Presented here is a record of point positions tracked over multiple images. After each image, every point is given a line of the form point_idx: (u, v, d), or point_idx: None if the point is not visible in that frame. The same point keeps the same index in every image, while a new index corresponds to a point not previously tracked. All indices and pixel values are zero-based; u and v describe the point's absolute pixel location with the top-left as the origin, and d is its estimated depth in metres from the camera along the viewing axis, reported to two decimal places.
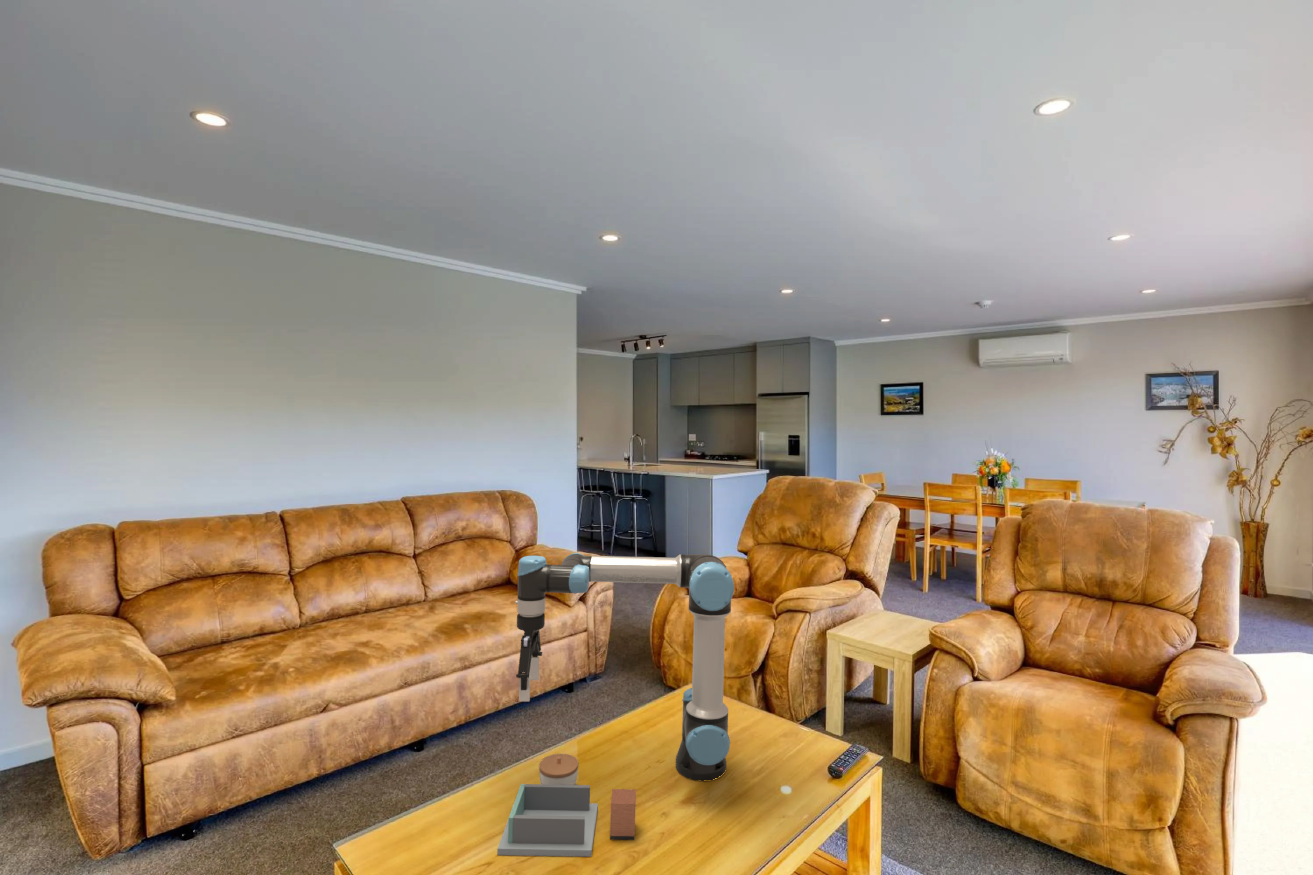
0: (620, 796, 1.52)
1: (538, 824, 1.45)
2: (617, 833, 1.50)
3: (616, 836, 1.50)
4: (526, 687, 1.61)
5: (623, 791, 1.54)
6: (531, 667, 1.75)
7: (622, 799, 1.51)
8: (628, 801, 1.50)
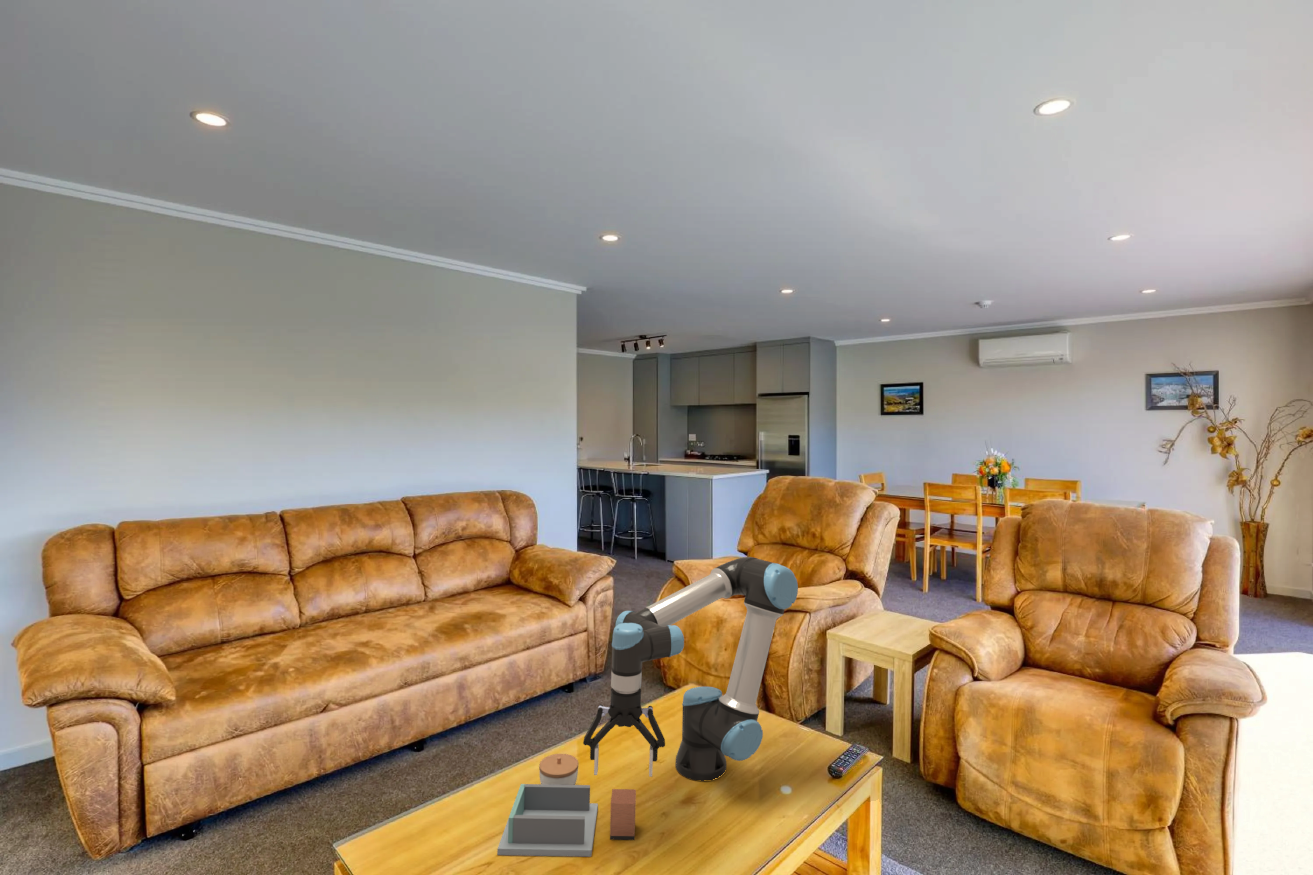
0: (620, 796, 1.52)
1: (538, 824, 1.45)
2: (617, 833, 1.50)
3: (616, 836, 1.50)
4: (592, 757, 1.52)
5: (623, 791, 1.54)
6: None
7: (621, 799, 1.51)
8: (628, 801, 1.50)
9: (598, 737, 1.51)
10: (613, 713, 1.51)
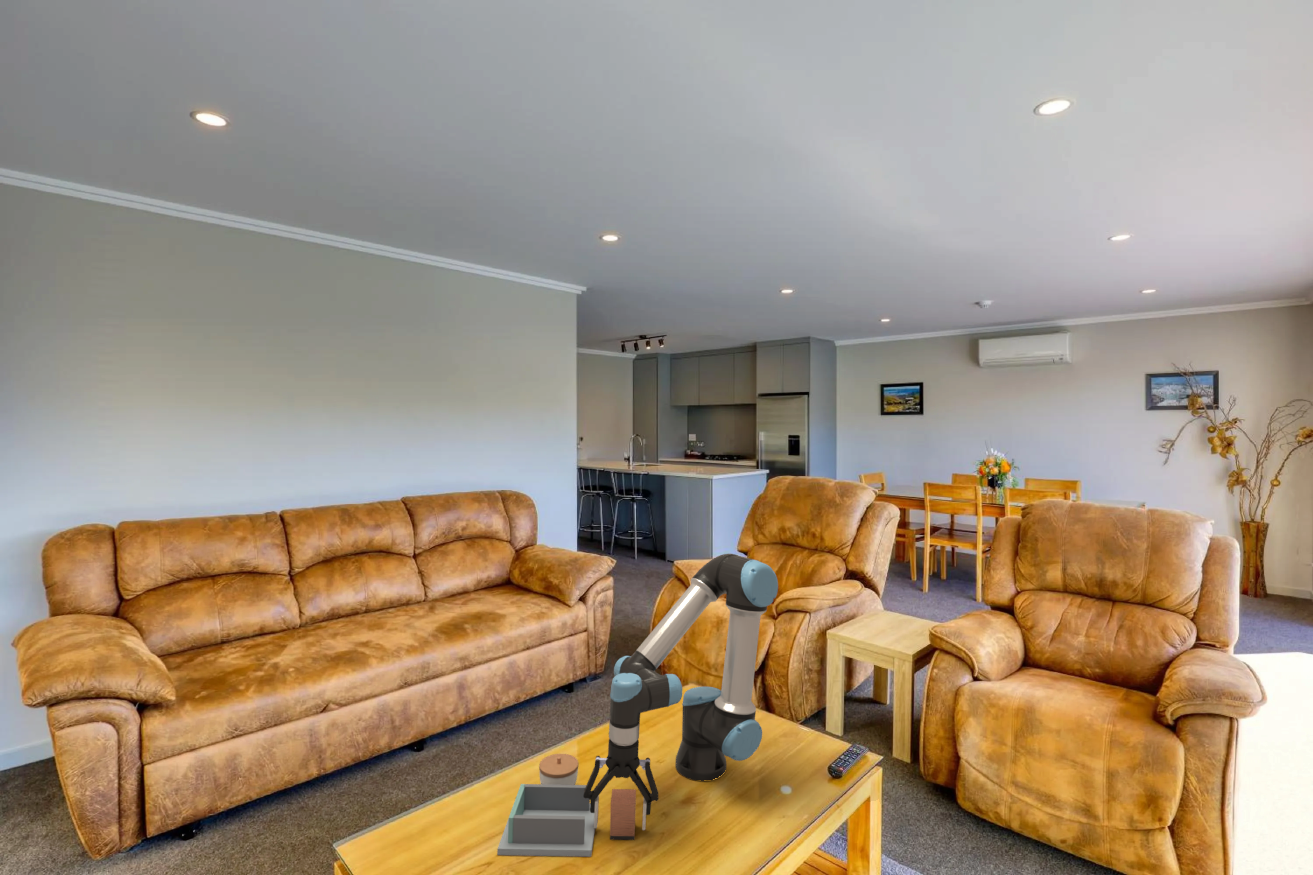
0: (620, 796, 1.52)
1: (538, 824, 1.45)
2: (617, 833, 1.50)
3: (616, 836, 1.50)
4: (592, 810, 1.52)
5: (623, 792, 1.54)
6: None
7: (621, 799, 1.51)
8: (628, 801, 1.50)
9: (597, 790, 1.51)
10: (611, 764, 1.51)
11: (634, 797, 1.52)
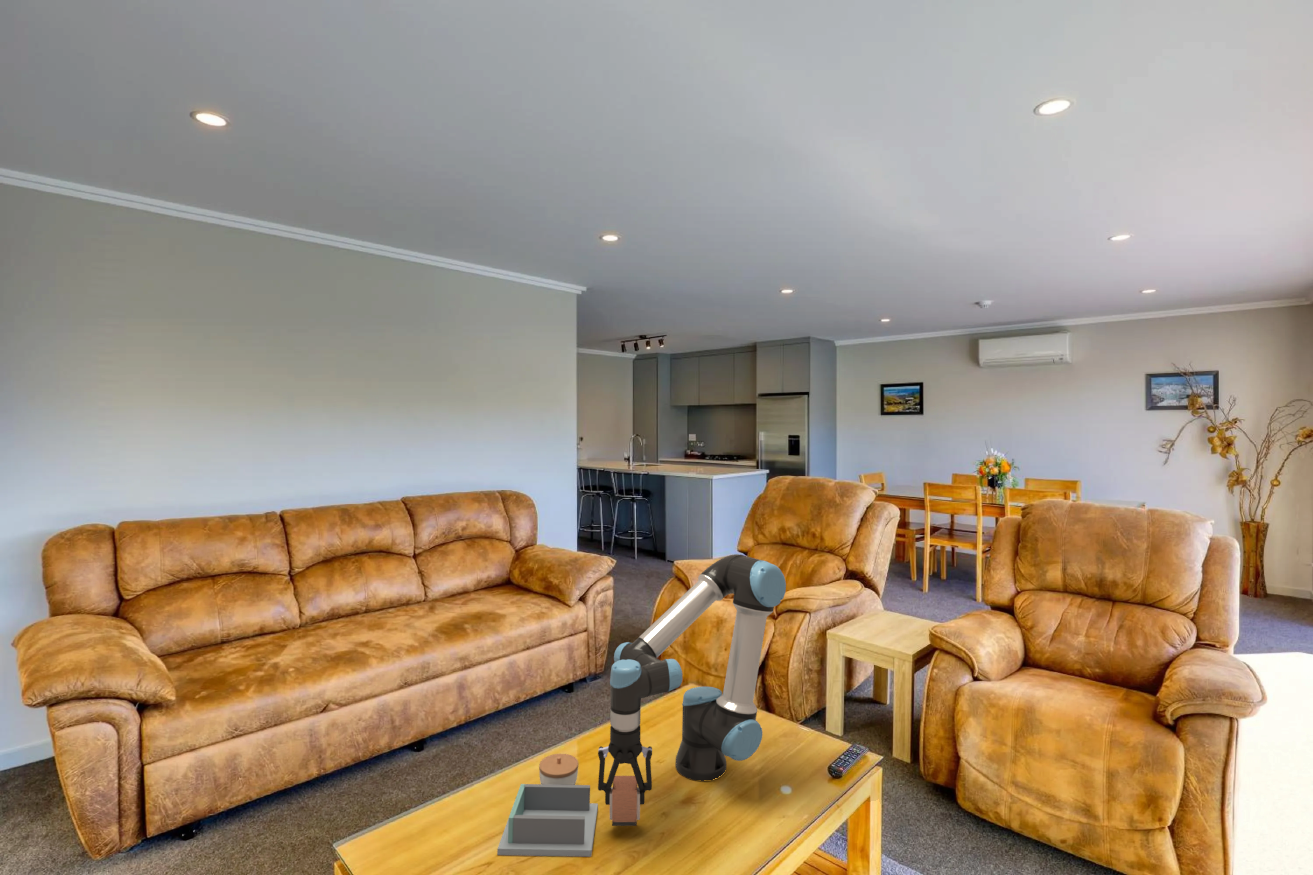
0: (622, 782, 1.53)
1: (538, 824, 1.45)
2: (619, 819, 1.50)
3: (618, 822, 1.50)
4: (607, 802, 1.52)
5: (625, 778, 1.55)
6: None
7: (623, 785, 1.51)
8: (630, 788, 1.51)
9: (609, 781, 1.52)
10: (613, 750, 1.51)
11: (636, 783, 1.52)
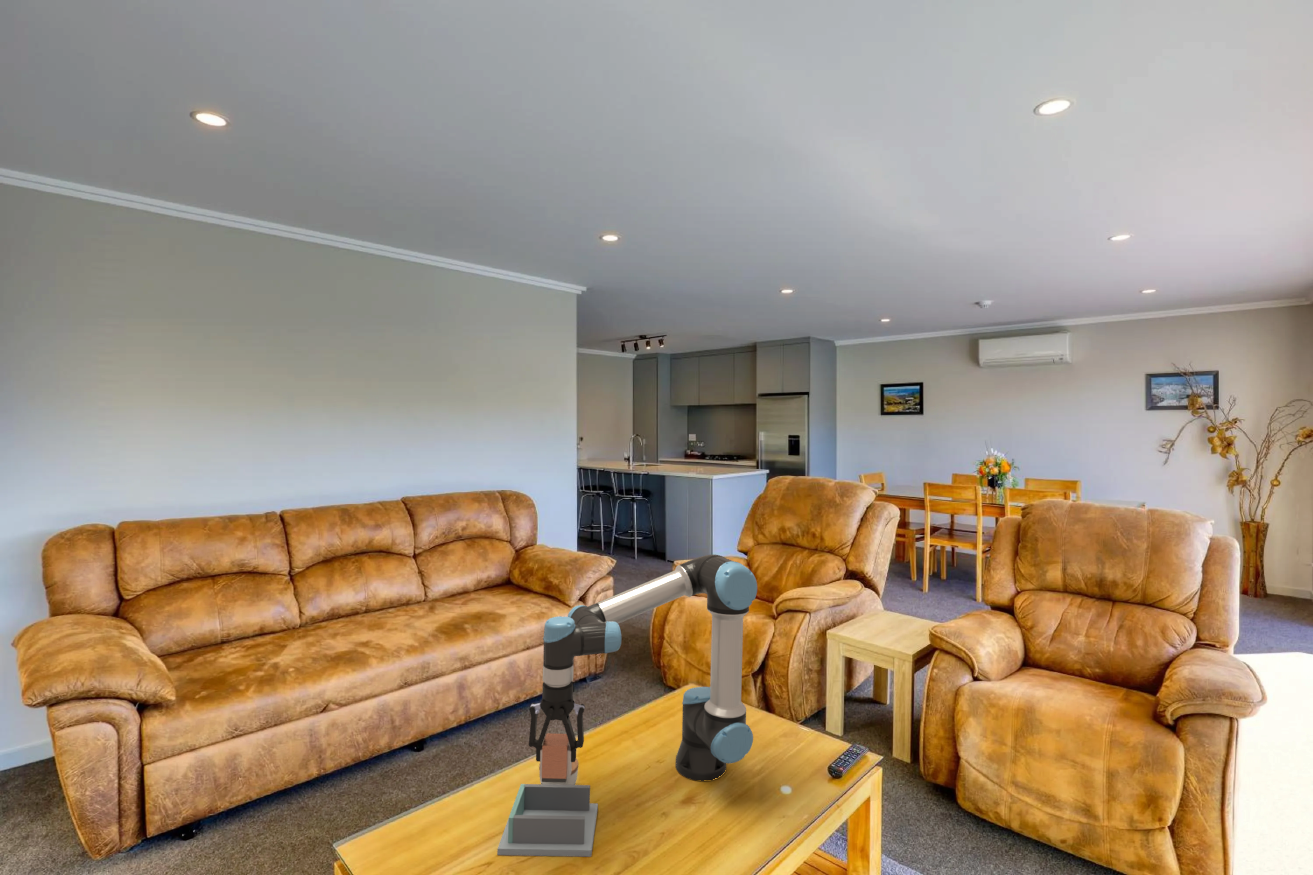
0: (553, 739, 1.52)
1: (538, 824, 1.45)
2: (549, 775, 1.49)
3: (548, 778, 1.49)
4: (538, 759, 1.52)
5: (557, 735, 1.54)
6: None
7: (554, 742, 1.51)
8: (560, 744, 1.50)
9: (540, 737, 1.51)
10: (545, 706, 1.51)
11: (567, 740, 1.52)
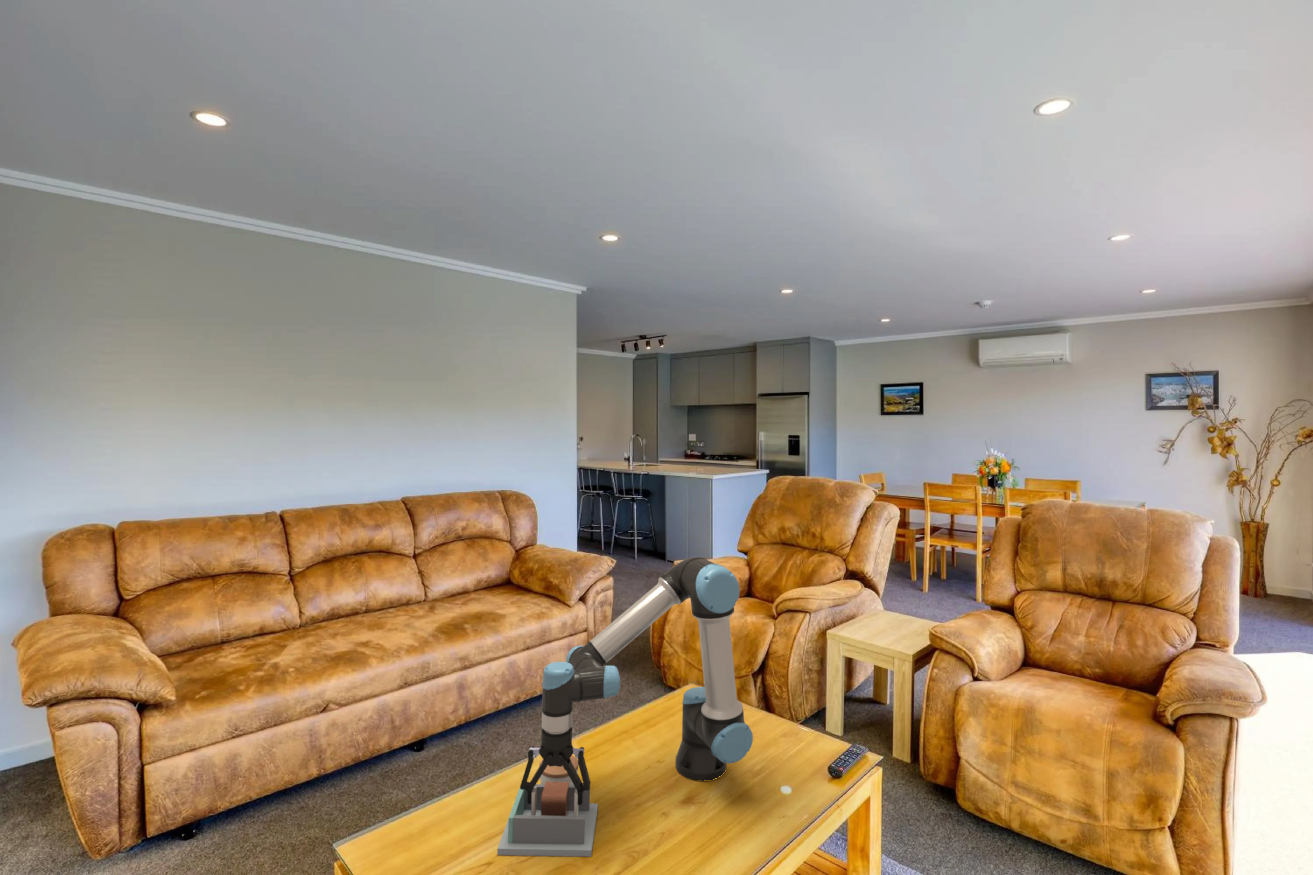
0: (552, 788, 1.52)
1: (538, 824, 1.45)
2: None
3: None
4: (529, 801, 1.52)
5: (556, 784, 1.54)
6: None
7: (553, 791, 1.51)
8: (559, 794, 1.50)
9: (533, 780, 1.51)
10: (544, 753, 1.51)
11: (566, 790, 1.52)
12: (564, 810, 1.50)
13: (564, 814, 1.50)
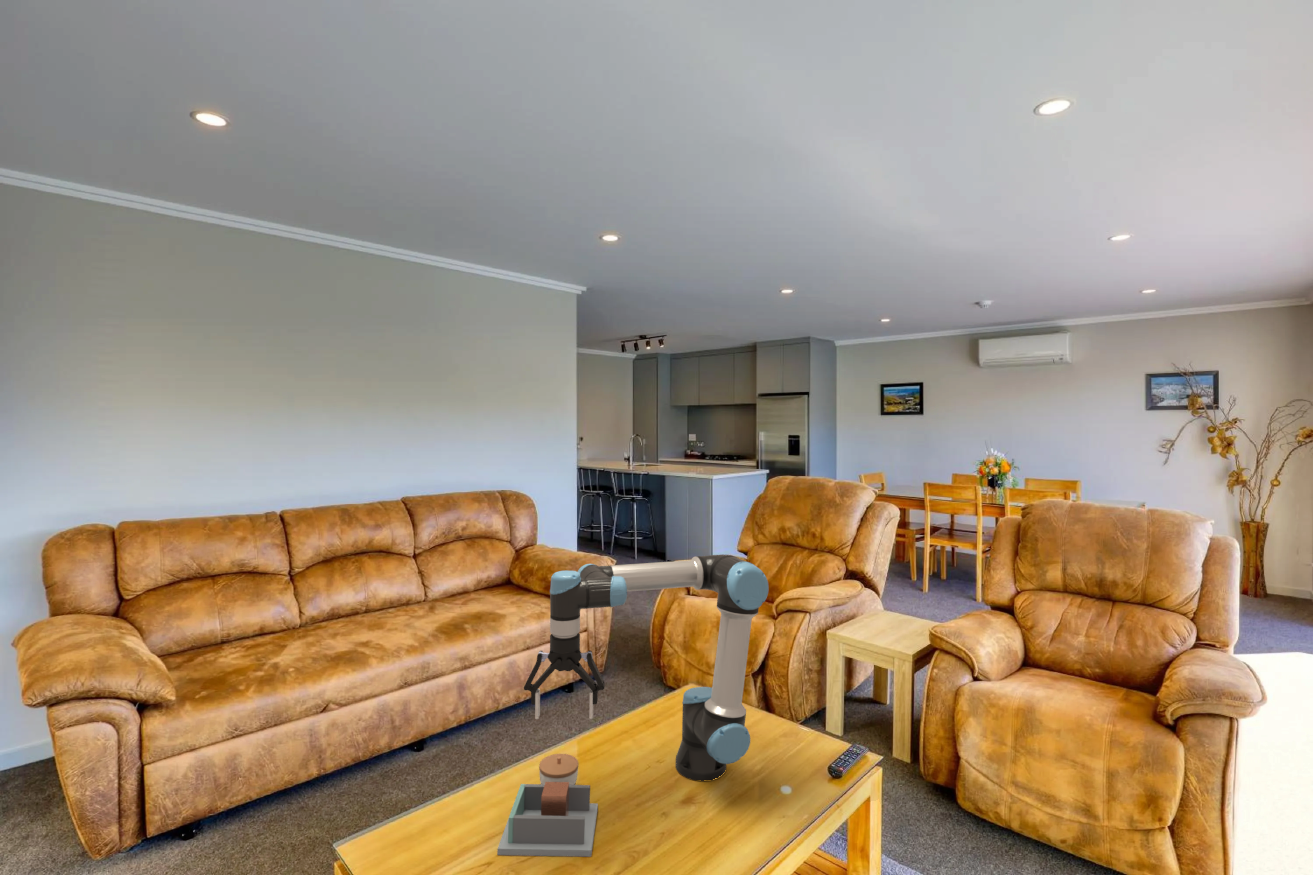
0: (552, 788, 1.52)
1: (538, 824, 1.45)
2: None
3: None
4: (533, 702, 1.54)
5: (556, 784, 1.54)
6: None
7: (553, 791, 1.51)
8: (559, 794, 1.50)
9: (538, 682, 1.54)
10: (552, 658, 1.54)
11: (566, 790, 1.52)
12: (564, 810, 1.50)
13: (564, 814, 1.50)
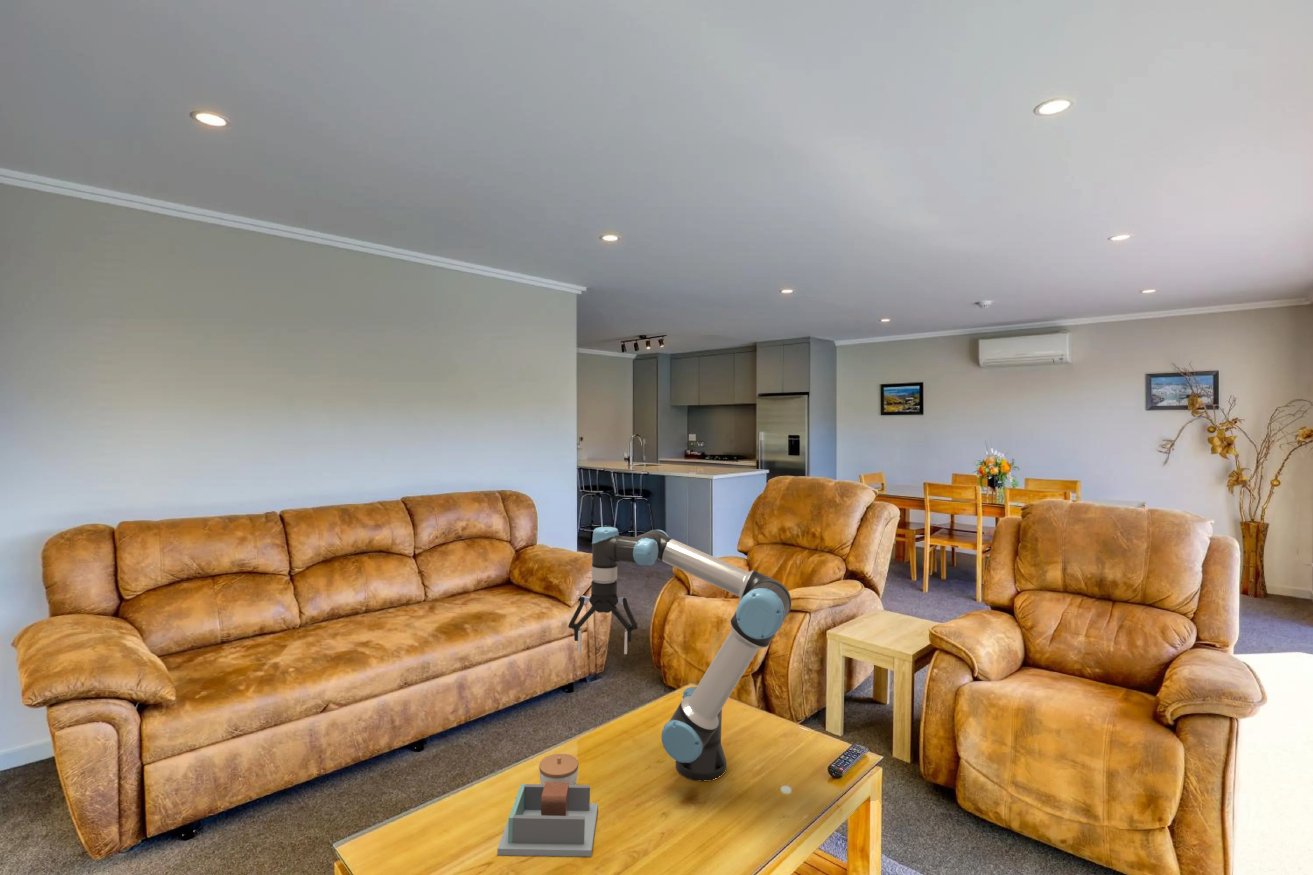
0: (552, 788, 1.52)
1: (538, 824, 1.45)
2: None
3: None
4: (576, 639, 1.79)
5: (556, 784, 1.54)
6: None
7: (553, 791, 1.51)
8: (559, 794, 1.50)
9: (581, 621, 1.79)
10: (593, 601, 1.79)
11: (566, 790, 1.52)
12: (564, 810, 1.50)
13: (564, 814, 1.50)
